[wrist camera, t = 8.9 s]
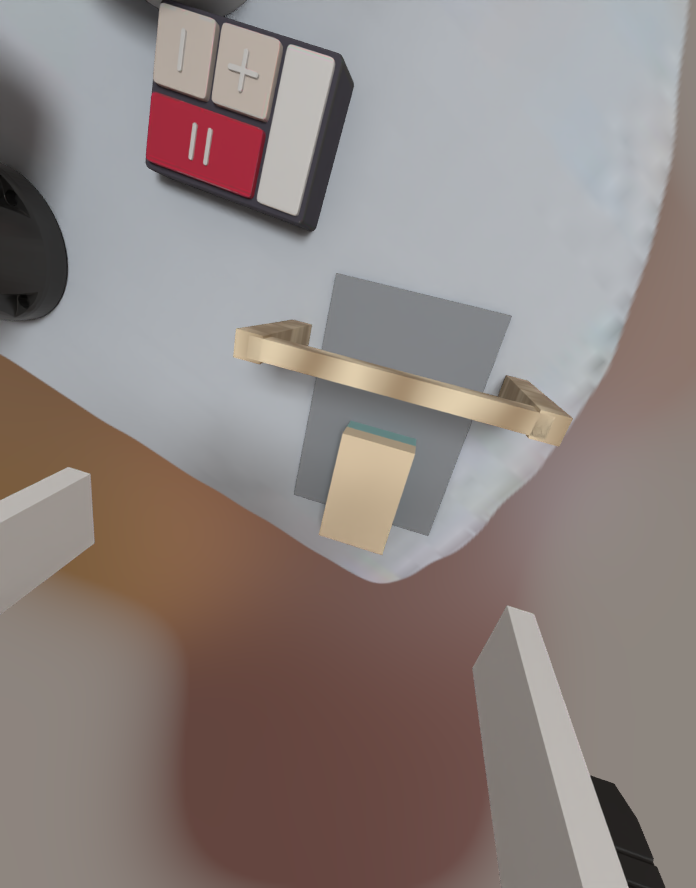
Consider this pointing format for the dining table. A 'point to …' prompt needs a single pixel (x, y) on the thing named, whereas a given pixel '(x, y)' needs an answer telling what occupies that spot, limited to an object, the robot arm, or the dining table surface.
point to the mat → (405, 349)
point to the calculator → (245, 113)
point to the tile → (367, 486)
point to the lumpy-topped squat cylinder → (208, 5)
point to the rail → (405, 382)
